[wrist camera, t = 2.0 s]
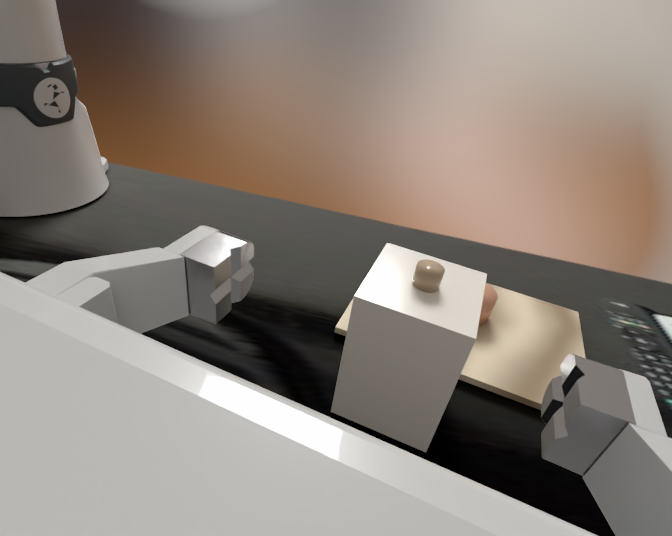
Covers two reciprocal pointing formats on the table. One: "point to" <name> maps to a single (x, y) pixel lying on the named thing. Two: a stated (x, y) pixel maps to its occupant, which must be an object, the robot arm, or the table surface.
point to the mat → (517, 346)
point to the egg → (487, 304)
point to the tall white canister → (407, 343)
